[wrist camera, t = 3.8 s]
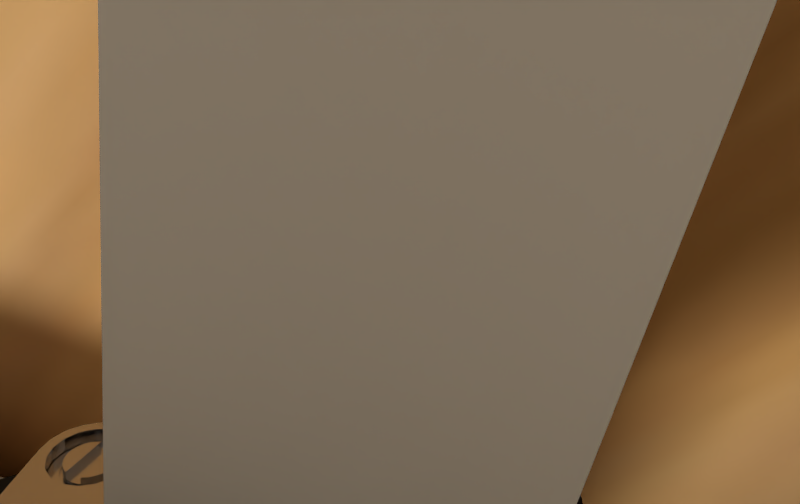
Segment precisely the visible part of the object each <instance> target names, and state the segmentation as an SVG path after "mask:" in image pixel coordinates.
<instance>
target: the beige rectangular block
mask: <svg viewBox="0 0 800 504" xmlns="http://www.w3.org/2000/svg"><path fill="white" fill-rule="evenodd" d="M776 2H777V0H98V39H99V126H100V214H101V302H102V389H103V477H104V504H577V502H578V500H579V497H580V495H581V492H582V490H583V487H584V484H585V482H586V479H587V477H588V474H589V472H590V469H591V467H592V464H593V462H594V459H595V457H596V454H597V452H598V449H599V447H600V444H601V442H602V439H603V437H604V434H605V432H606V429H607V427H608V424H609V422H610V419H611V417H612V414H613V412H614V409H615V407H616V404H617V402H618V399H619V397H620V394H621V392H622V389H623V386H624V384H625V381H626V379H627V376H628V374H629V371H630V369H631V366H632V364H633V361H634V359H635V356H636V354H637V351H638V349H639V346H640V344H641V341H642V339H643V336H644V334H645V331H646V329H647V326H648V324H649V321H650V319H651V316H652V314H653V311H654V309H655V306H656V304H657V301H658V299H659V296H660V293H661V291H662V288H663V286H664V283H665V281H666V278H667V276H668V273H669V271H670V268H671V266H672V263H673V261H674V258H675V256H676V253H677V251H678V248H679V246H680V243H681V241H682V238H683V236H684V233H685V231H686V228H687V226H688V223H689V221H690V218H691V216H692V213H693V211H694V208H695V206H696V203H697V201H698V198H699V195H700V193H701V190H702V188H703V185H704V183H705V180H706V178H707V175H708V173H709V170H710V168H711V165H712V163H713V160H714V158H715V155H716V153H717V150H718V148H719V145H720V143H721V140H722V138H723V135H724V133H725V130H726V128H727V125H728V123H729V120H730V118H731V115H732V113H733V110H734V108H735V105H736V103H737V100H738V97H739V95H740V92H741V90H742V87H743V85H744V82H745V80H746V77H747V75H748V72H749V70H750V67H751V65H752V62H753V60H754V57H755V55H756V52H757V50H758V47H759V45H760V42H761V40H762V37H763V35H764V32H765V30H766V27H767V25H768V22H769V20H770V17H771V15H772V12H773V10H774V7H775V5H776Z"/></svg>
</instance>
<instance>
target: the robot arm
mask: <svg viewBox="0 0 800 504" xmlns="http://www.w3.org/2000/svg"><path fill="white" fill-rule="evenodd" d="M0 504H104V477H103V423H101V422H99V423H92V424H85V425H81V426H78V427H75V428H72V429H69V430H66V431H64V432H62V433H60V434H59V435H57V436H55V437H53V438H51V439H50V440H49V441H48V442H47V443H46V444H45V445H43V446H42V447H41V448H40V449H39V450H38V451H37V453H36V454H35V455H34V456H33V457H32V458H31V460H30V461H29V462H28V463H27V464H26V465H25V467H24V468H23V469H22V470H21V471H20V472H19V473H18V475H15V476H11V477H7V478H3V479H0ZM577 504H582V498H581V495H580V497H579V500H578V502H577Z"/></svg>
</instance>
